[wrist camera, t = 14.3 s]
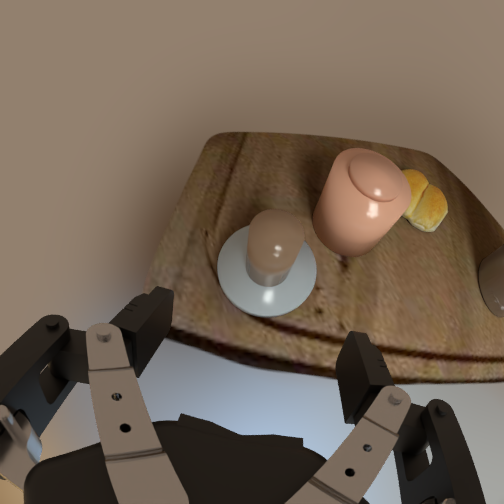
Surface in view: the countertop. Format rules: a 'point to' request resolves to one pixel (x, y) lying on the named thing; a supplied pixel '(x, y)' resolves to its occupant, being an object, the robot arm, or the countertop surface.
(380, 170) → the canister
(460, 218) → the countertop surface
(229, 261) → the lid
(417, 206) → the bread roll
